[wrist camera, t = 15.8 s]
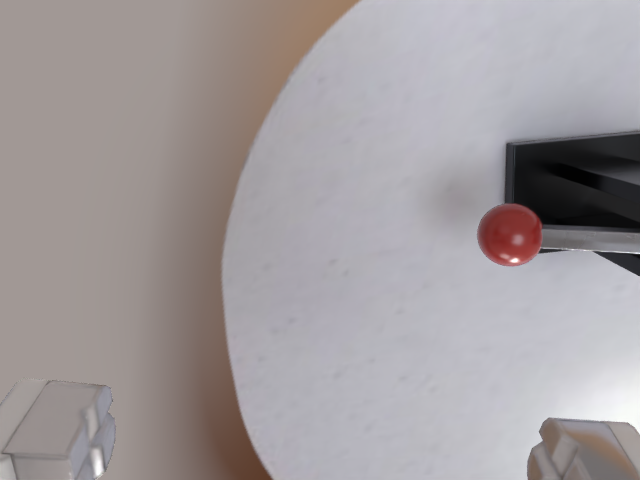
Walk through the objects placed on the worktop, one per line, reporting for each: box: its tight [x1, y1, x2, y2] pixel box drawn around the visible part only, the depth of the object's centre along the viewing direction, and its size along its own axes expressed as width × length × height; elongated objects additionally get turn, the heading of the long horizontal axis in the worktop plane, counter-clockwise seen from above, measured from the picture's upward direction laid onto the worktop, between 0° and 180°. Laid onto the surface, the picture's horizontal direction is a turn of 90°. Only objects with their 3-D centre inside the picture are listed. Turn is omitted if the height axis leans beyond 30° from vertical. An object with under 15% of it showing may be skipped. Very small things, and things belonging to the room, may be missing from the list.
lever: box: [477, 203, 640, 266], centre depth 28 cm, size 13×4×4 cm
